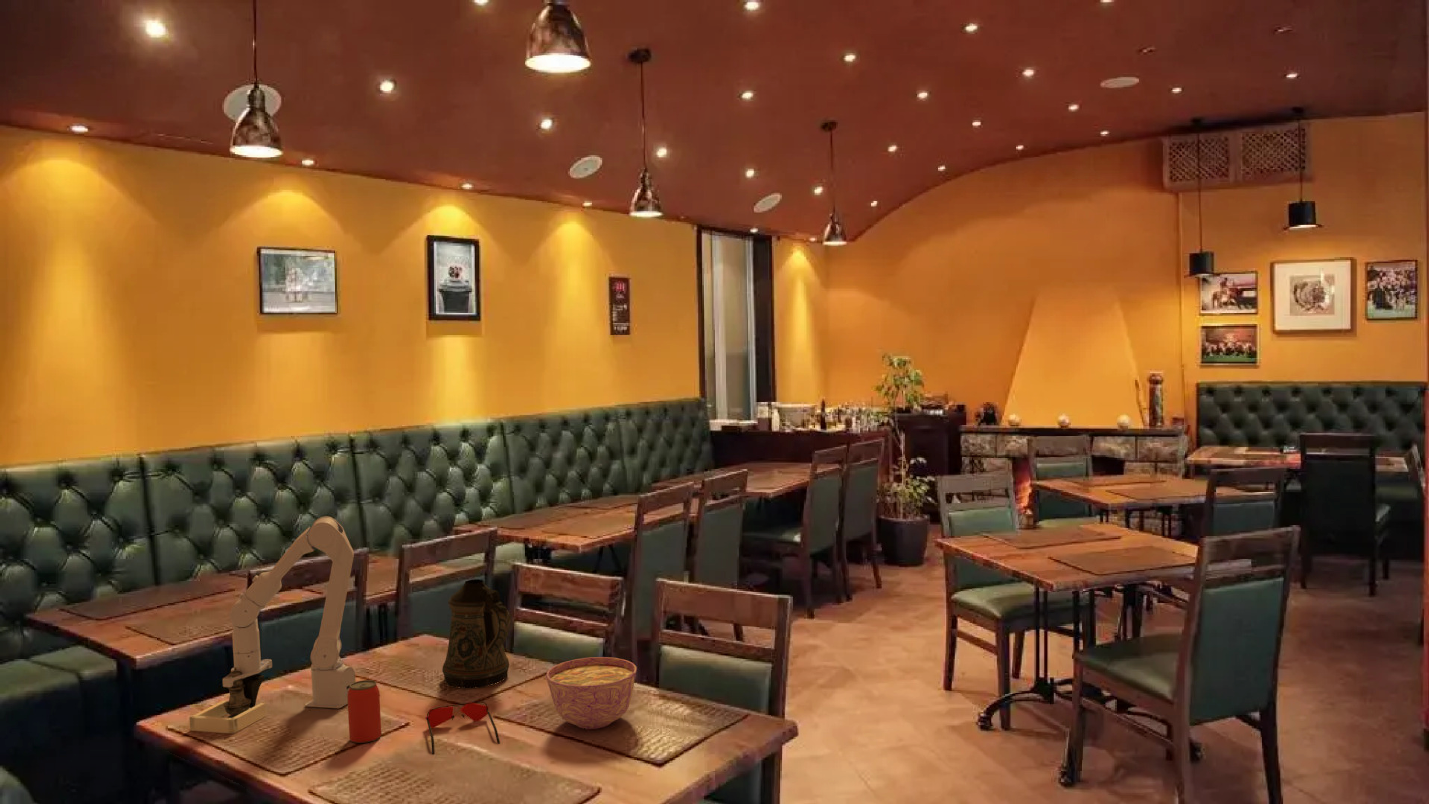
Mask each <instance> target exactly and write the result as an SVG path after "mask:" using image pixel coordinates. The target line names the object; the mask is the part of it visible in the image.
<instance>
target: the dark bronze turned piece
mask: <svg viewBox="0 0 1429 804" xmlns="http://www.w3.org/2000/svg"><path fill="white" fill-rule="evenodd" d="M233 668H234V667H233ZM236 669H237V668H236V667H235V668H234V671H232V672H231V671H230V672H229V674H228V675H229V677H232V678H233V677H236V676H239V675H242V672H241V671H238V670H236ZM244 687H245V685H244V684H243V678H241V679H238V680H235V681H233V686H232V687H227V689H228V690H229V691H228V692H229V697H228V698H229V699H228V700H227V701H228V702H226V703H224V705H223V706H224V707H225V710H226V712H227V713H228V714H227V715H228V716H226V718H233V717H235V716H237V715H239V714H241V713H243V712H245V711H247V710H249V709H250V708H249V707H250V703H251V700H250V699H247V698H245V696H244Z"/></svg>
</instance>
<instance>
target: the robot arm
mask: <svg viewBox="0 0 1429 804" xmlns="http://www.w3.org/2000/svg"><path fill="white" fill-rule="evenodd" d="M316 549H317V550H319V551H321V552H323V553H324V554H325V555H326V556H327V557H328V558H329V559H330V560H331V561H332V563H331V568H330V574H329V580H328V584H327V585H328V586H327V590H326V596H325V602H324V608H323V613H322V617H321V623H320V628H319V634H318V636H317V637H316V639H315V641H314V643H313V648H312V650H311V653H310V661H311V664H310V673H311V691H312V692H311V694H312V699H311V700H309V701H308V702H307V703H305V704H304V707H311V708H324V709H325V708H326V709H327V708H329V709H340V708H342V707H344V706H346V705H348V699H347V696H348V691H349V686H350V685H351V684H352V683H354V682H357V680H356V672H355V669H354V668H353V667H352V666H348V665H345V663H344V660H343V659H342V658H341V657H340V652H341V650H342V641H341V638H340V633H341V627H342V621H343V616H344V610H345V606H346V605H345V604H346V600H347V593H348V589H349V583H350V578H351V572H352V566H353V562H354V556H355V552H354V549H353V547H352V544H351V542H350V541H349V539H348V536H347V535H346V531H345V530H344V527H343V526H342V525H341V523H339V522H338V521H337V520H336V519H335V518H333V517H331V516H321V517H318V518H317V519H316V520H314V522H313V523H312V526H308V528H306V529H305V530H304V531H303V532H302V533H301V534H300V535H299V536H298V537H297V538H296V539H295V540H294V541H293V543H292V544H291V545H290V546H289V547H288V549H287V550H286V551H285V553H284V554H283V555H282V556H281V557H280V558H279V560H278V561H277V562H276V564H274V567H273V568H271V570H269V571H266V572H265V571H264V572H261V573H260V574H259V575H255V576H254V577H253V578H252V580H251V581H252V583H251V585H250V586H249V587H248V588H247V590H245V591H244V593H243V592H241V593H240V594H239V596H238V598H239V599H238V600H237V601H236V602H235V603H234V604H233V605H232V607H231V609H230V611H229V615H228V617H229V620H230V622H231V623H232V624H231V625H232V626H231V628H232V634H231V637H232V653H233V655H232V656H233V667H232V668H231V669H230V673H231V672H232V671H234V668H235V667H236V668H237V669H236V670H238V671H241V672H242V675H239V676H236V677H233V678H232V677H229V674H228V675H226V676H225V677H223V678H222V687H223V688H228V687H232V686H233V681H235V680H238V679H241V678H243V684H244V685H245V687H244V696H245V698H247V699H250V700H251V703H250V707H249V709H250V708H252V707H254V706H256V704H257V703H256V702H257V698H258V694H259V690H260V688H261V686H262V683H263V682H264V679H265V675H264V674H260V673H262V671H265V670H267V669H268V670H269V669H271V668H273V661H272V660H273V659H269V658H267V659H266V658H265V659H264V658H263V659H261V643H260V642H261V641H260V630H259V622H258V616H259V615H260V612H261V610H264V609H265V608H266V607H267V605H269V603H270V602H271V601H272V599H273V598H274V597H275V596H276V594H278V592H279V591H280V590H281V589H282V587H283V586H282V585H283V584H282V578H283V577H284V576H285V575H286V574H287V573H288V572H289V571H290V570H291V569H292V568H293V566H294V565H295V564H296V563H297V562H298V561H299V560H300V558H301V557H302V556H303V555H305V554H310V553H312V552H314V551H315V550H316Z"/></svg>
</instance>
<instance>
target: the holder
mask: <svg viewBox="0 0 1429 804" xmlns="http://www.w3.org/2000/svg"><path fill="white" fill-rule="evenodd" d="M228 701H229V700H221V701H220V702H218V703H216V704H214V705H212V706H210V707H208V708H205V709H204V710H201V711H200V712H196V713H195V714H193V715H192V716H189V718H188V719H189V730H190V731H193V732H205V733H217V734H218V733H220V734H232V735H233V734H236V733H238V732H239V731H240V732H241V730H243V729H245V728H247V727H249V726H250V725H252V724H254V723H256V722H258V721H259V720H261V719H264V718H265V717H267V707H266V705H267V704H266V703H265V702H259V704H257V705H256V704H255V706H254V707H252V708H249V709H248V710H247V711H245V712H243V713H241V714H239V715H237V716H235V717H233V718H227V717H225V716H227V715H229V714H228V713H227V712H226V710H225V707H224V706H223V705H224V703H226V702H228Z"/></svg>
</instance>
